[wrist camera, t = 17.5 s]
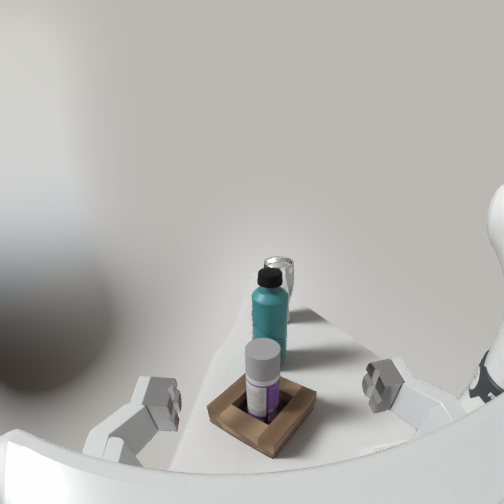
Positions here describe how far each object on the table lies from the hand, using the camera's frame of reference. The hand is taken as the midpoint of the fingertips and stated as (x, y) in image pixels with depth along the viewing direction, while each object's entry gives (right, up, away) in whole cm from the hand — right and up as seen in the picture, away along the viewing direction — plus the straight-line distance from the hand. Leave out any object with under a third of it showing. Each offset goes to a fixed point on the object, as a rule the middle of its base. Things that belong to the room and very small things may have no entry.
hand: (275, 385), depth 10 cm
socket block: (+1, -21, +28) cm, 35 cm away
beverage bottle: (+2, -16, +41) cm, 45 cm away
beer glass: (+5, -11, +56) cm, 57 cm away
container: (+1, -21, +28) cm, 35 cm away
